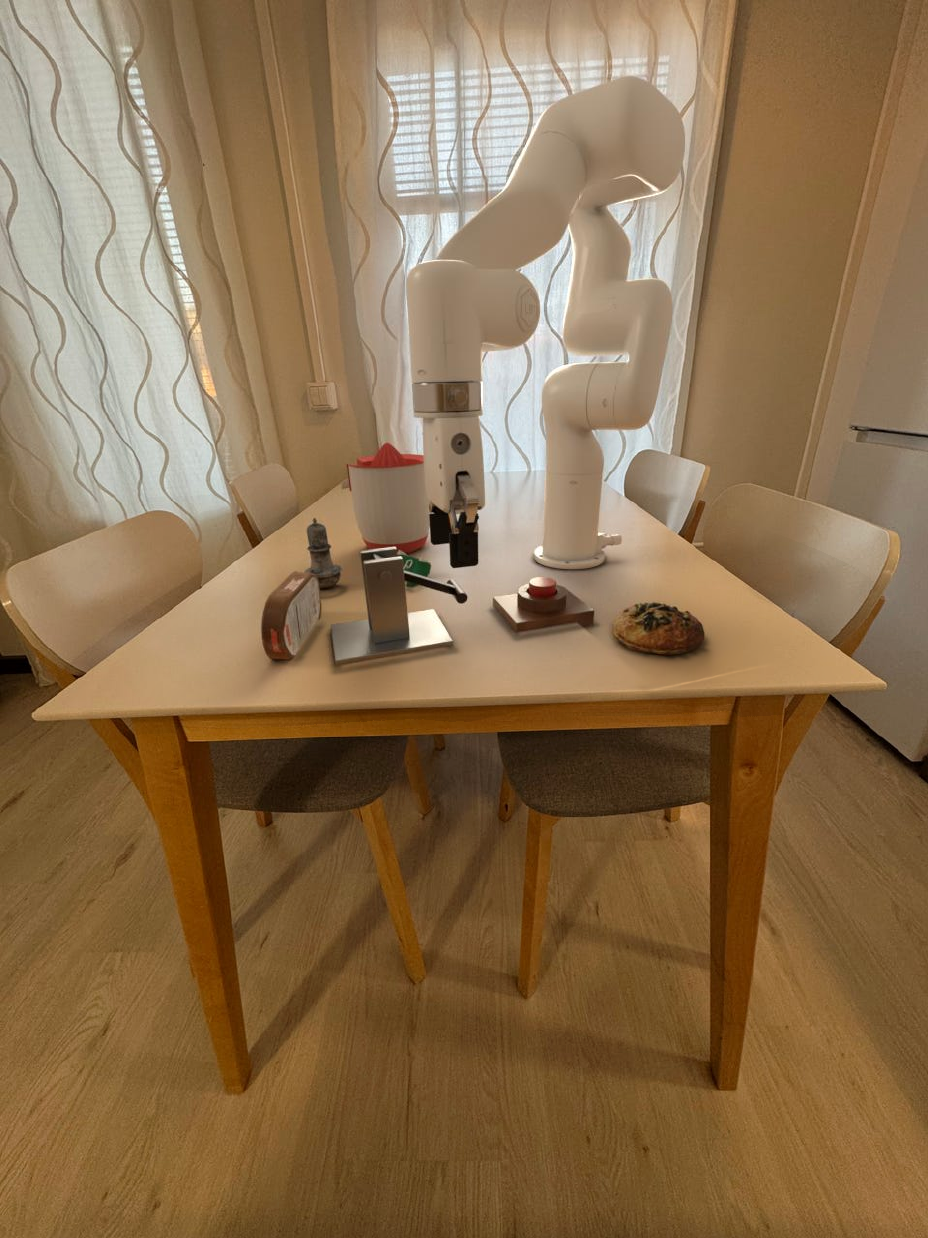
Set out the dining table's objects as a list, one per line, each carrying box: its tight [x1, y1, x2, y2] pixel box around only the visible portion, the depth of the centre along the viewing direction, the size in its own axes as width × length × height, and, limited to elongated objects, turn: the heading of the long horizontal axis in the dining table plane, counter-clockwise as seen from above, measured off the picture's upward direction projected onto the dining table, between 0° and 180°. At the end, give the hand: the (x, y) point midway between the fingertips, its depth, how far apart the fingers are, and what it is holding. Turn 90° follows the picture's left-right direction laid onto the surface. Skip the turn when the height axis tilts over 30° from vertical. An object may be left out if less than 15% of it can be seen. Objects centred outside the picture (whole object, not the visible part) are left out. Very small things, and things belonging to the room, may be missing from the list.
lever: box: [371, 554, 469, 605], centre depth 62 cm, size 12×5×2 cm, turn 106°
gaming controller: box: [397, 550, 432, 588], centre depth 83 cm, size 9×4×6 cm
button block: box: [492, 583, 595, 633], centre depth 68 cm, size 11×9×4 cm
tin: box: [260, 570, 322, 661], centre depth 63 cm, size 15×3×8 cm, turn 178°
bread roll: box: [612, 601, 706, 656], centre depth 62 cm, size 11×11×5 cm
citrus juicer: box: [341, 442, 432, 554], centre depth 97 cm, size 16×17×20 cm
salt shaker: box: [303, 517, 343, 590], centre depth 78 cm, size 6×6×12 cm
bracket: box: [330, 547, 454, 666], centre depth 61 cm, size 14×10×12 cm
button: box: [528, 576, 557, 597], centre depth 67 cm, size 4×4×2 cm
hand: (453, 553), depth 61 cm, fingers open, 9 cm apart
